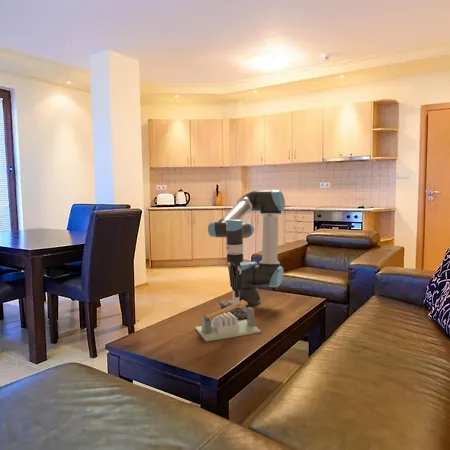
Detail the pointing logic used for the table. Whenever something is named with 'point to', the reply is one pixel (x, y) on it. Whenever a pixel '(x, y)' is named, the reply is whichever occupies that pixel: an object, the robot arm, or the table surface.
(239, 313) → the rock
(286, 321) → the table surface
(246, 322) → the heatsink board
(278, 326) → the table surface
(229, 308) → the strap
